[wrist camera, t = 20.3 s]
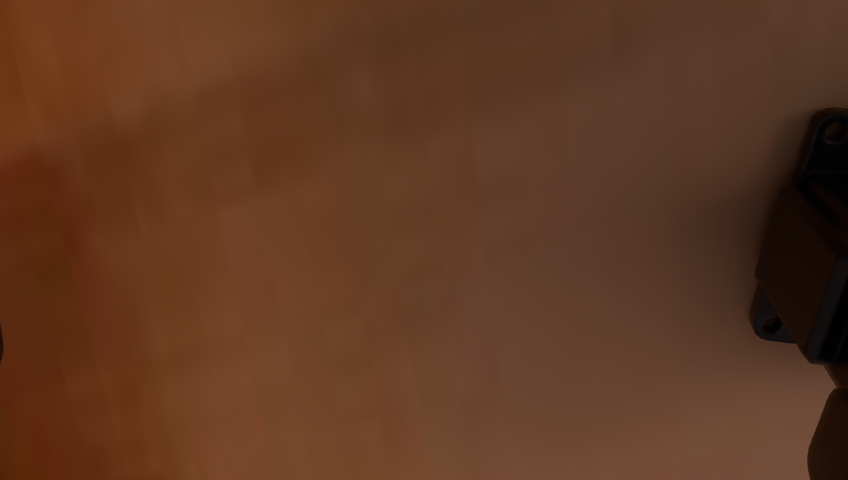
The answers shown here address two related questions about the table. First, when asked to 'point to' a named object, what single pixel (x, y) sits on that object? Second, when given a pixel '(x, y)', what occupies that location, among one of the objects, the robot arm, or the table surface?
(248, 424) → the table surface
